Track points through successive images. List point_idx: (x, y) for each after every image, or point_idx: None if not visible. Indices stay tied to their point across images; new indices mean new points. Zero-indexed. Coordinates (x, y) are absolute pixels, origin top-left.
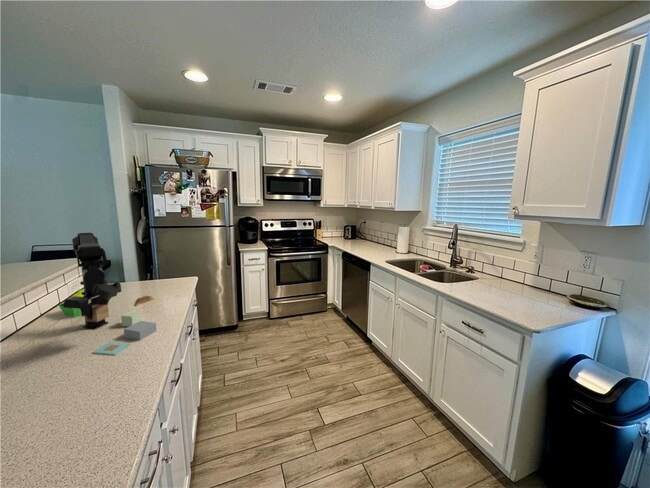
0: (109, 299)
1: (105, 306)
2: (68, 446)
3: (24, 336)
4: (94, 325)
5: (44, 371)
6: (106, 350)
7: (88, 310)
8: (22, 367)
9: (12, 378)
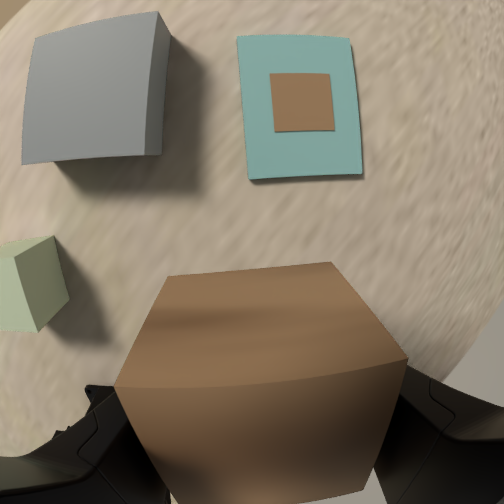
0: (24, 458)
1: (173, 375)
2: None
3: None
4: None
5: (477, 242)
6: (333, 108)
7: (463, 398)
8: (452, 339)
9: (495, 297)
